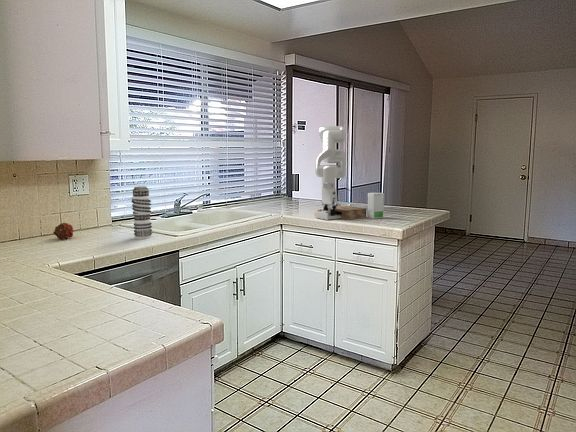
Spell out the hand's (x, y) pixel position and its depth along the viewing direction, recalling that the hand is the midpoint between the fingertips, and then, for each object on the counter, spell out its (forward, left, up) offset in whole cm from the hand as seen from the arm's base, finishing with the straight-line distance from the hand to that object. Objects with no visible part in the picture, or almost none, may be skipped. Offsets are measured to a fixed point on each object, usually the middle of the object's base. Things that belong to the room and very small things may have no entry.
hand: (329, 214), depth 283 cm
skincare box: (-25, +14, -3) cm, 29 cm away
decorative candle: (+113, 0, -3) cm, 113 cm away
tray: (-1, 0, -2) cm, 2 cm away
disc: (0, 0, 0) cm, 0 cm away
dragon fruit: (+147, -18, -3) cm, 148 cm away
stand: (-1, -14, -2) cm, 14 cm away
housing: (-13, 0, -2) cm, 13 cm away
